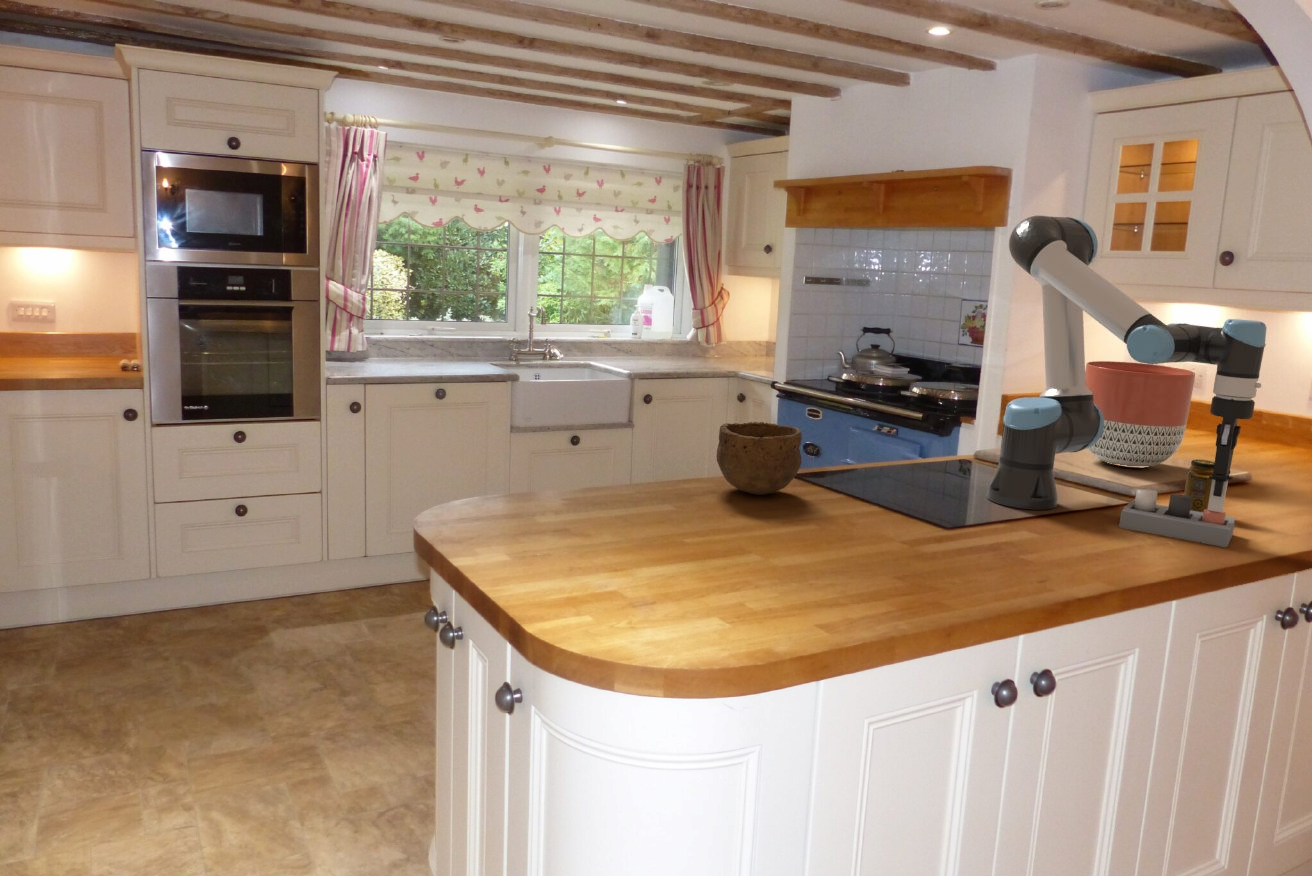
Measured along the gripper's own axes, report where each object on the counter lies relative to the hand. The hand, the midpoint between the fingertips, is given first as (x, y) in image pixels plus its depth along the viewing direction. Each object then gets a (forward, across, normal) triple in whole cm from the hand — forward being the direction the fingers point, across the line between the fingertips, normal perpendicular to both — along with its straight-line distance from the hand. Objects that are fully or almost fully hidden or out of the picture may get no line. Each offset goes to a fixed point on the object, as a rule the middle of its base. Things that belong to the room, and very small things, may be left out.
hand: (1215, 510), depth 207 cm
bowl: (+6, -37, +86) cm, 94 cm away
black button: (+2, 0, +6) cm, 7 cm away
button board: (+6, 0, +6) cm, 9 cm away
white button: (+2, 0, +13) cm, 13 cm away
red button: (+4, 0, 0) cm, 4 cm away
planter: (+6, +65, +28) cm, 71 cm away
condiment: (+6, +20, +6) cm, 22 cm away
